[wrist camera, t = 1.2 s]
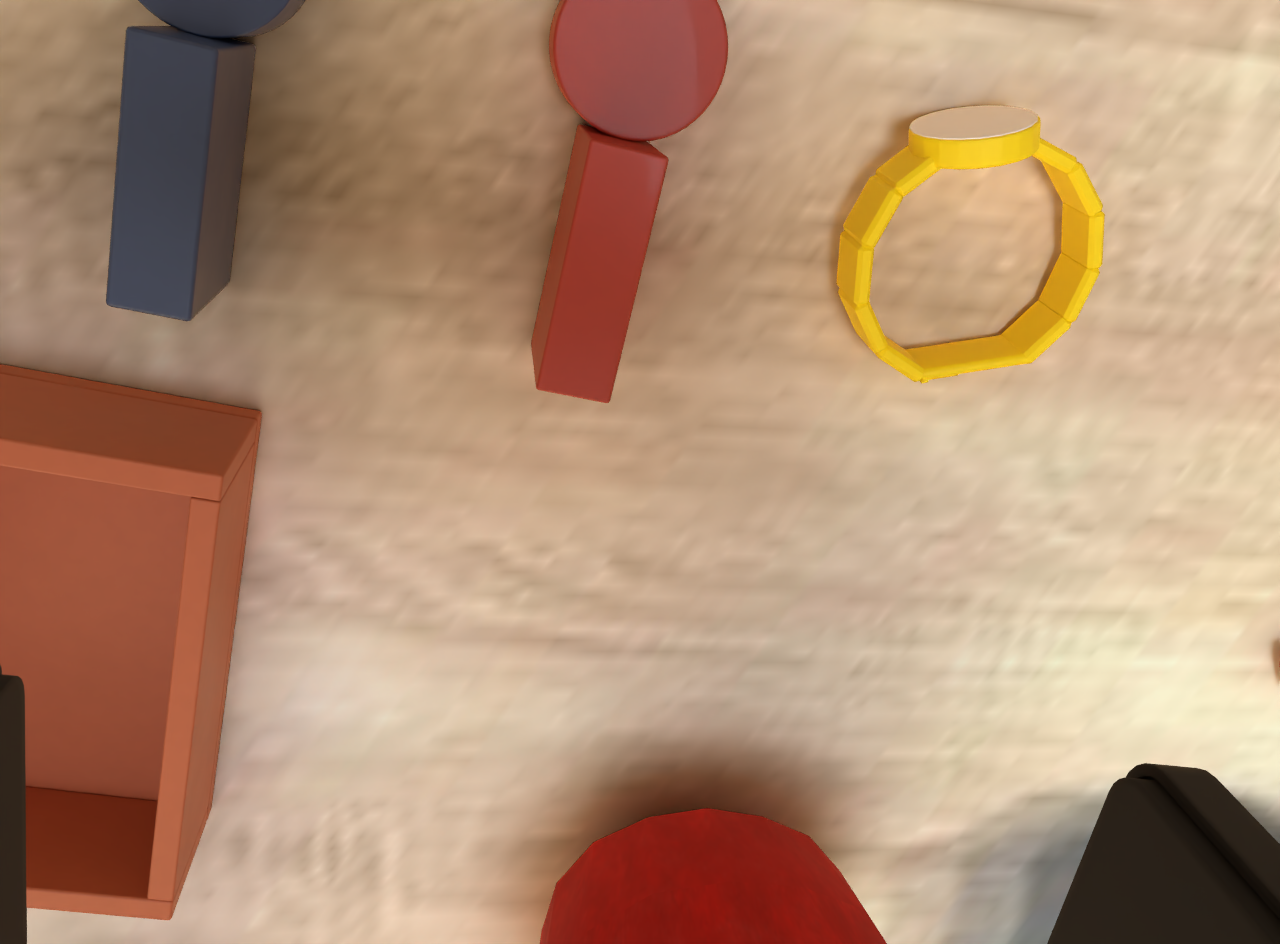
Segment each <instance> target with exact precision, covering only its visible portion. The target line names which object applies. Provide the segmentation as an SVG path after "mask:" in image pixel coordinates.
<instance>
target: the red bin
mask: <svg viewBox="0 0 1280 944" xmlns="http://www.w3.org/2000/svg"><path fill="white" fill-rule="evenodd" d="M261 417H262V413H261V412H260V411H257V410H251V409H246V408H240V407H235V406H229V405H224V404H218V403H213V402H207V401H202V400H196V399H190V398H185V397H179V396H174V395H168V394H163V393H157V392H152V391H146V390H141V389H135V388H130V387H124V386H119V385H113V384H108V383H102V382H97V381H91V380H85V379H80V378H74V377H69V376H63V375H58V374H52V373H47V372H41V371H36V370H30V369H25V368H19V367H14V366H8V365H3V364H0V665H1V668H2V674H4V675H14V676H19V677H20V678H21V679H22V681H23V684H24V691H25V773H26V903H27V908H38V909H49V910H60V911H71V912H83V913H94V914H105V915H116V916H127V917H138V918H149V919H160V920H170V919H171V918H172V916H173V913H174V910H175V907H176V904H177V902H178V899H179V896H180V893H181V891H182V888H183V885H184V882H185V880H186V877H187V874H188V871H189V869H190V866H191V863H192V860H193V857H194V855H195V852H196V849H197V846H198V844H199V841H200V838H201V835H202V833H203V830H204V827H205V824H206V821H207V819H208V816H209V813H210V810H211V806H212V798H213V790H214V783H215V775H216V767H217V759H218V752H219V744H220V736H221V728H222V720H223V713H224V705H225V697H226V689H227V682H228V674H229V666H230V658H231V651H232V643H233V635H234V627H235V619H236V612H237V604H238V596H239V588H240V581H241V573H242V565H243V557H244V549H245V542H246V534H247V526H248V518H249V511H250V503H251V495H252V487H253V479H254V472H255V464H256V456H257V448H258V441H259V433H260V425H261Z"/></svg>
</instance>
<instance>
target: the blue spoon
mask: <svg viewBox="0 0 1280 944" xmlns="http://www.w3.org/2000/svg"><path fill="white" fill-rule="evenodd" d="M138 1H139V2H140V3H141V4H142V5H144V6H145V7H146V8H147V9H148V10H149V11H150V12H151V13H153V14H154V15H155V16H157V17H158V18H159V19H161V20H162V21H164V22H166V23H167V24H169V25H171V26H131V27H128V28H127V29H126V37H125V51H124V64H123V78H122V91H121V105H120V118H119V132H118V145H117V159H116V173H115V186H114V200H113V213H112V227H111V240H110V254H109V267H108V281H107V294H106V303H107V305H109V306H111V307H117V308H122V309H127V310H132V311H137V312H142V313H147V314H153V315H158V316H163V317H168V318H173V319H178V320H183V321H190V320H191V319H193V318H194V317H195V316H196V315H197V314H198V313H199V312H200V311H201V310H202V309H203V308H204V307H205V306H206V305H207V304H208V303H209V302H210V301H211V300H212V299H213V298H214V297H215V296H216V295H217V294H218V293H219V292H220V291H221V290H222V289H223V288H224V287H225V286H226V285H227V284H228V283H229V282H230V273H231V264H232V255H233V246H234V237H235V229H236V220H237V211H238V202H239V193H240V184H241V175H242V166H243V158H244V149H245V140H246V131H247V122H248V113H249V104H250V96H251V87H252V78H253V69H254V60H255V51H256V48H255V45H253V44H252V43H248V42H244V41H239V40H235V39H231V38H240V37H251V36H256V35H260V34H264V33H266V32H269V31H271V30H274V29H275V28H277V27H279V26H280V25H282V24H284V23H285V22H286V21H287V20H289V19H290V18H291V17H292V16H293V15H294V14H295V13H296V12H297V11H298V10H299V9H300V7H301V6H302V4H303V3H304V1H305V0H138Z"/></svg>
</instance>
